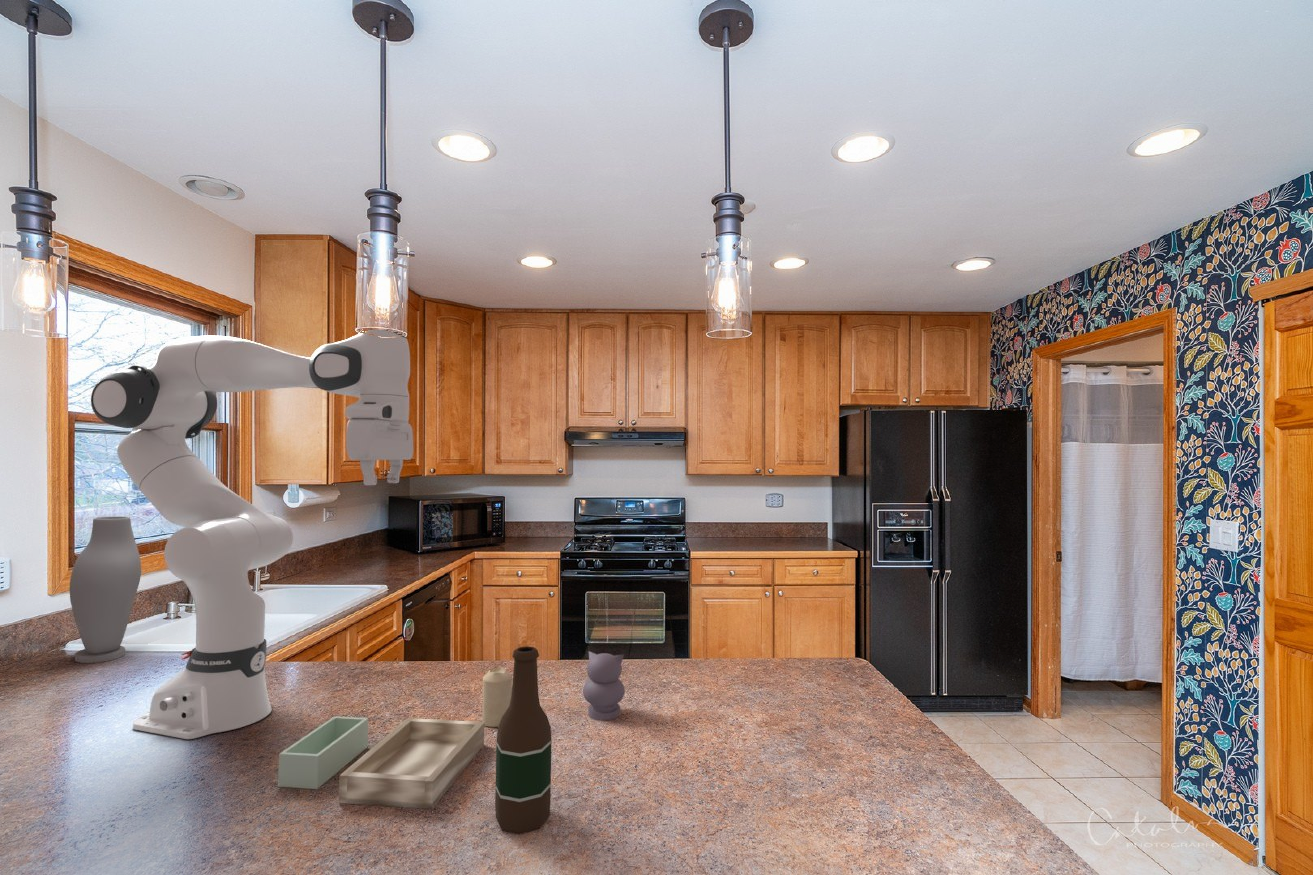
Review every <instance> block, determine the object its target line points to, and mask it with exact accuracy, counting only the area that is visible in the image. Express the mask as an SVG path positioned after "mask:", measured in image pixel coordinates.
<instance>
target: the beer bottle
mask: <svg viewBox="0 0 1313 875" xmlns="http://www.w3.org/2000/svg"><path fill="white" fill-rule="evenodd" d="M539 657H540V654H539V650H538V649H537V648H536V647H533V646H528V645H527V646H519V647H517V648H515V649H514V650H513V652H512V658H513V660H514V661H513V672H512V695H511V700H510V705H509V707H508V709H507V710H506V712H505V713H504V715H503V716H502V718H501V721H500V724H499V726H498V727H497V730H496V731H497V733H496V745H495V748H496V749H495V789H494V790H495V794H494V795H495V796H494V801H495V802H494V808H495V819H496V821H497V824H498V825H499V828H500V830H501V831H503V832H507V833H512V834H516V835H517V834H518V835H520V834H521V835H522V834H525V833H528V832H532V831H536V830H539V829H540V828H541V827H542V826H543V825H544V823H545V822H547V820H548V819H549V817H550V815H551V814H550V813H551V795H552V794H551V792H552V790H551V789H552V787H551V786H552V727H551V723H550V720H549V718H548V716H547V714H546V712H545V711H544V709H543V708H542V706H541V704H540V703H541V702H540V696H539V681H538V680H539V679H538V658H539Z"/></svg>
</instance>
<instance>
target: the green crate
mask: <svg viewBox="0 0 1313 875" xmlns="http://www.w3.org/2000/svg"><path fill="white" fill-rule="evenodd" d="M368 747H369V718H368V717H355V716H354V717H351V716H336V715H334V716H333V717H331V718H329V719H328V720H326V721H325V722H324V723H322V724H321V725H319V726H317V727H316V728H315V729H313V730H312V731H311V732H309V733H307V734H306V735H305V736H303V737H301V738H300V739H298V740H297V741H296V742H294V743H292V745H290V746H289V747H287V748H285V749H284V750H283V751H281V752H280V753H279V754H278V771H277V772H278V778H277V787H278V788H279V787H281V788H294V789H296V788H297V789H311V790H318V789H319V788H320V787H321V786H322V785H324V784H325V783H326V782H328V780H330V779H331V778H332V777H333V776H335V775H336V774H338V772H340V771H341V770H342V769H343V768H344V767H345V766H346V765H348V764H349V763H350V762H351V761H353V759H355V758H356V757H357V756H359V755H360V754H361V753H362V752H363V751H365V750H366V749H367V748H368Z"/></svg>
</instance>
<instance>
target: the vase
mask: <svg viewBox="0 0 1313 875" xmlns="http://www.w3.org/2000/svg"><path fill="white" fill-rule="evenodd" d="M141 577H142V562H141V556H140V552H139V549H138V545H137V542H136V539H135V536H134V532H133V528H132V521H131V517H130V516H126V515H125V516H123V515H121V516H120V515H118V516H117V515H116V516H115V515H113V516H98V517H94V518H93V519H92V528H91V536H90V539H89V542H88V544H87V545H85V547H84V549H83V550H82V551H81V552H80V554H79V555H78V557H77V558H76V561H75V563H74V565H73V567H72V570H71V573H70V580H69V588H68V589H69V600H70V605H71V609H72V613H73V614H72V615H73V617H74V621H75V624H76V628H77V630H78V634H79V637H80V640H81V643H82V645H83V647H84V649H80V650H77V651H76V652H75V653H74V661H75V662H77V663H81V664H90V663H91V664H93V663H94V664H95V663H102V662H103V663H104V662H108V661H113V660H117V659H120V658H122V657H124V656H125V653H126V647H125V646H123V645H122V642H123V639H124V637H125V634H126V631H127V628H128V623H129V620H130V617H131V613H132V609H133V605H134V602H135V599H136V595H137V593H138V589H139V585H140V581H141Z"/></svg>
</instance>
